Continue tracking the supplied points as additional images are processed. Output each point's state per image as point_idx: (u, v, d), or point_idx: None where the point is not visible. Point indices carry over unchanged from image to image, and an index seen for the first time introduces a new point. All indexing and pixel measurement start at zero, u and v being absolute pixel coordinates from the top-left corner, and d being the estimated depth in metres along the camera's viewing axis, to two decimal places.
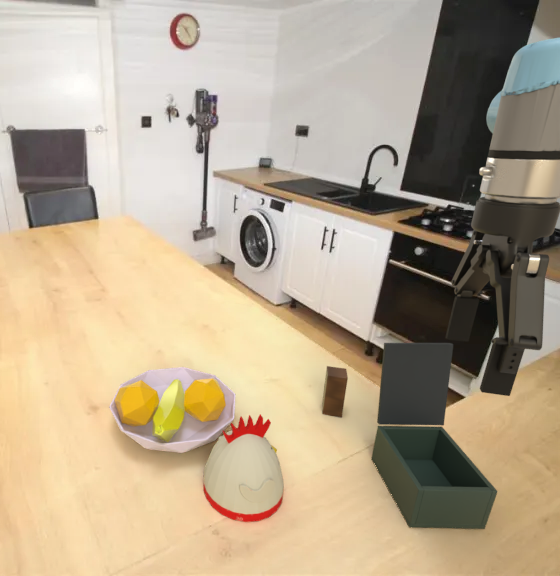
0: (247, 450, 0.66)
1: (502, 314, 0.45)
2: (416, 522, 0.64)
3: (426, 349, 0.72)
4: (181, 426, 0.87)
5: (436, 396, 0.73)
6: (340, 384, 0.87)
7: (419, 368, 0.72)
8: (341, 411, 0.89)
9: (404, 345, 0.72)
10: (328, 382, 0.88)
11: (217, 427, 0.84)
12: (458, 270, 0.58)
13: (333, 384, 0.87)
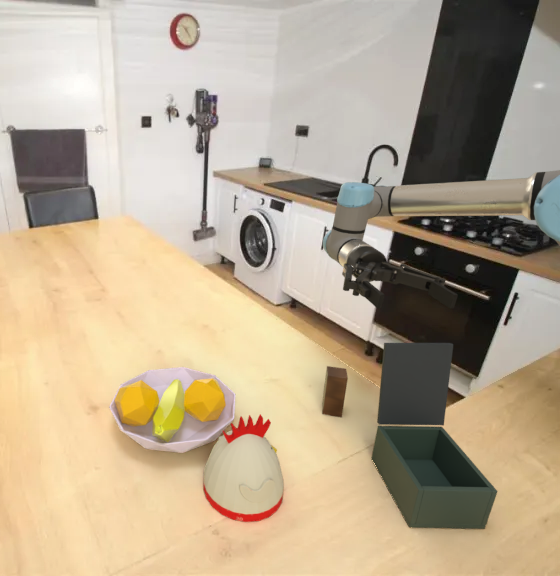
0: (247, 450, 0.66)
1: None
2: (416, 522, 0.64)
3: (426, 349, 0.72)
4: (181, 426, 0.87)
5: (436, 396, 0.73)
6: (340, 384, 0.87)
7: (419, 368, 0.72)
8: (341, 411, 0.89)
9: (404, 345, 0.72)
10: (328, 382, 0.88)
11: (217, 427, 0.84)
12: None
13: (333, 384, 0.87)
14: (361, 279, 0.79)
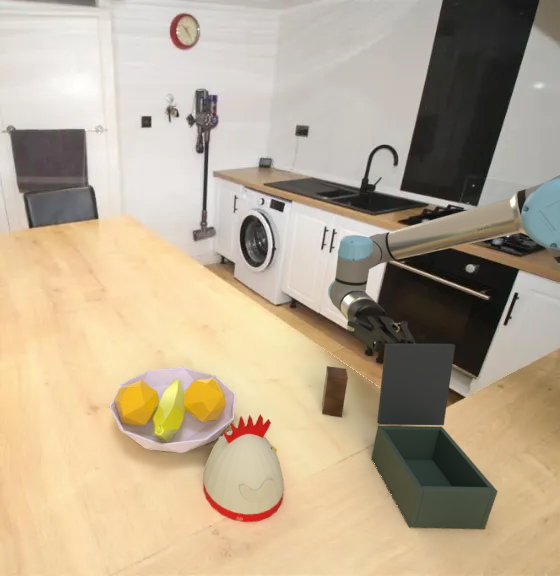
0: (247, 450, 0.66)
1: None
2: (416, 522, 0.64)
3: (427, 350, 0.71)
4: (181, 426, 0.87)
5: (437, 397, 0.73)
6: (340, 384, 0.87)
7: (420, 369, 0.72)
8: (341, 411, 0.89)
9: (405, 346, 0.71)
10: (328, 382, 0.88)
11: (217, 427, 0.84)
12: None
13: (333, 384, 0.87)
14: (390, 340, 0.80)
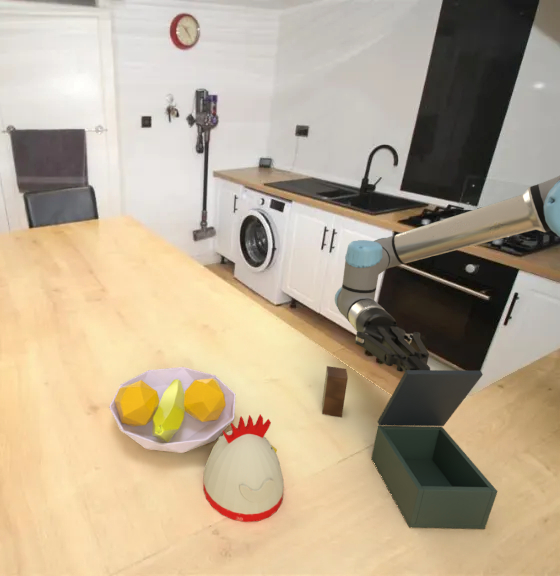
0: (247, 450, 0.66)
1: None
2: (416, 522, 0.64)
3: (450, 377, 0.65)
4: (181, 426, 0.87)
5: (445, 409, 0.71)
6: (340, 384, 0.87)
7: (436, 391, 0.67)
8: (341, 411, 0.89)
9: (427, 375, 0.65)
10: (328, 382, 0.88)
11: (217, 427, 0.84)
12: None
13: (333, 384, 0.87)
14: (403, 353, 0.75)
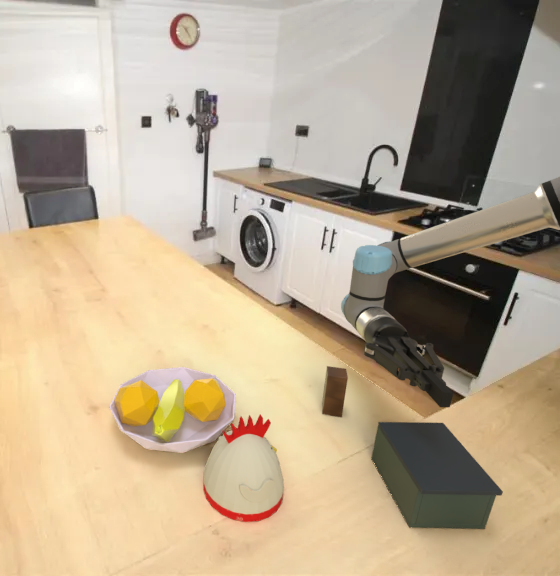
0: (247, 450, 0.66)
1: None
2: (416, 522, 0.64)
3: None
4: (181, 426, 0.87)
5: None
6: (340, 384, 0.87)
7: None
8: (341, 411, 0.89)
9: None
10: (328, 382, 0.88)
11: (217, 427, 0.84)
12: None
13: (333, 384, 0.87)
14: (417, 367, 0.71)
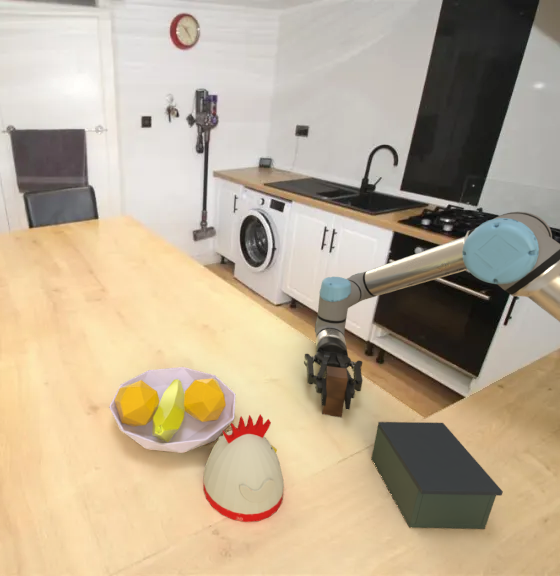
0: (247, 450, 0.66)
1: None
2: (416, 522, 0.64)
3: None
4: (181, 426, 0.87)
5: None
6: (340, 384, 0.87)
7: None
8: (341, 411, 0.89)
9: None
10: (328, 382, 0.88)
11: (217, 427, 0.84)
12: None
13: (333, 384, 0.87)
14: (321, 375, 0.92)
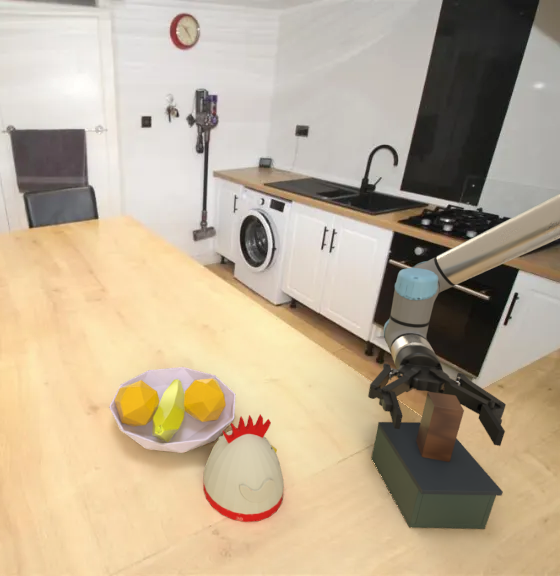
0: (247, 450, 0.66)
1: None
2: (416, 522, 0.64)
3: None
4: (181, 426, 0.87)
5: None
6: (452, 419, 0.63)
7: None
8: (450, 454, 0.65)
9: None
10: (434, 415, 0.64)
11: (217, 427, 0.84)
12: None
13: (442, 418, 0.63)
14: (389, 389, 0.71)
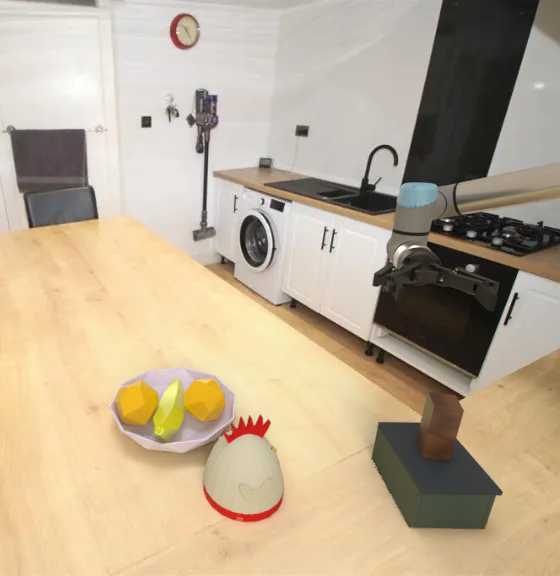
0: (247, 450, 0.66)
1: None
2: (416, 522, 0.64)
3: None
4: (181, 426, 0.87)
5: None
6: (452, 419, 0.63)
7: None
8: (450, 454, 0.65)
9: None
10: (434, 415, 0.64)
11: (217, 427, 0.84)
12: None
13: (442, 418, 0.63)
14: (392, 275, 0.77)
